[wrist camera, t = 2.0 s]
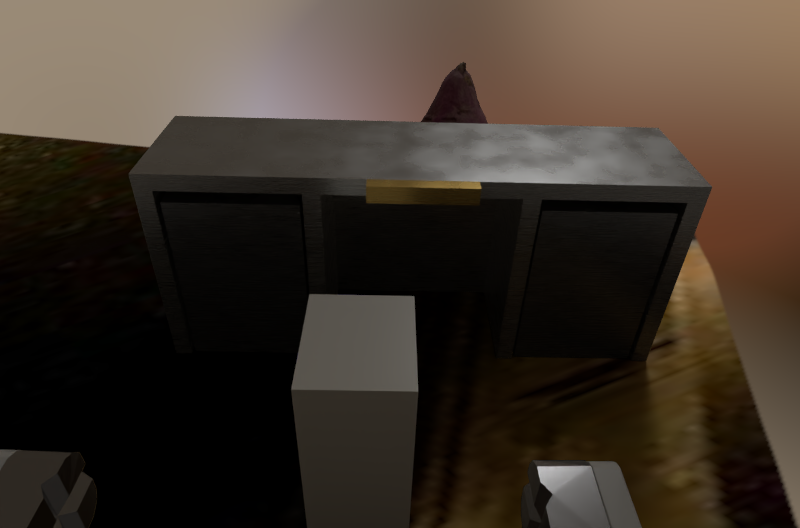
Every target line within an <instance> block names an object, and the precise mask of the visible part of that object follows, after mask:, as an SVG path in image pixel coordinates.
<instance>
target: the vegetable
mask: <svg viewBox="0 0 800 528" xmlns="http://www.w3.org/2000/svg"><path fill="white" fill-rule="evenodd" d="M421 122H436V123H476V124H488V123H487V120H486V117H485V115H484V113H483V111H482V109H481V107H480V105H479V102H478V100H477V96H476V91H475V87H474V84H473V81H472V78H471V76H470V74H469V73H468V72H467V71H466V63H464V62H463V63H461V64H460V65H458V66H457V67H456V69H454V70H452V71H451V72H450V73H449V74H448V75H447V77H446V78H445V79H444V81H443V83H442V85H441V87H440V89H439V91H438V93H437V95H436V97H435V99H434V101H433V103H432V104H431V106H430V108H429V110H428V112H427V114H426V115H425V116H424V118H423V120H422V121H421Z"/></svg>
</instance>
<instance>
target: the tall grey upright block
mask: <svg viewBox="0 0 800 528" xmlns="http://www.w3.org/2000/svg"><path fill="white" fill-rule="evenodd" d="M291 392H292V401H293V409H294V418H295V427H296V435H297V444H298V453H299V461H300V470H301V479H302V487H303V496H304V505H305V513H306V522H307V528H409V521H410V506H411V491H412V477H413V462H414V447H415V432H416V418H417V403H418V372H417V348H416V323H415V298H414V296H381V295H327V294H309V299H308V304H307V310H306V315H305V320H304V325H303V331H302V336H301V341H300V346H299V351H298V357H297V362H296V367H295V372H294V378H293V383H292V388H291Z"/></svg>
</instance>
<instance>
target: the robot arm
mask: <svg viewBox="0 0 800 528" xmlns="http://www.w3.org/2000/svg"><path fill="white" fill-rule="evenodd" d="M84 466H85V462H84V460H83V458H82V456H81V454H80V453H79V452H52V451H22V450H0V528H89V526H90V523H91V521H92V519H93V516H94V512H95V507H96V502H97V493H96V486H95V484H94V481H93V479H92V478H90V477H89V476H87V475H86V474H84V473H83V472H82V470H83V468H84ZM528 477H529V482H530V483H528V484H527V485H526V486H524V488H523V493H522V498H521V518H522V527H523V528H642V527H641V524H640V521H639V519H638V516H637V513H636V510H635V507H634V505H633V502H632V499H631V496H630V494H629V491H628V488H627V485H626V482H625V480H624V477H623V474H622V471H621V469H620V467H619V466H618V464H617V463H616V462H613V461H585V460H533V461H532V462H531V463H530V465H529V468H528Z"/></svg>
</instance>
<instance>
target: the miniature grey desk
mask: <svg viewBox="0 0 800 528" xmlns="http://www.w3.org/2000/svg"><path fill="white" fill-rule="evenodd" d="M129 178H130V181H131V185H132V189H133V192H134V196H135V200H136V204H137V207H138V211H139V215H140V219H141V222H142V226H143V230H144V234H145V237H146V241H147V245H148V249H149V252H150V256H151V260H152V264H153V267H154V271H155V275H156V279H157V282H158V286H159V290H160V293H161V297H162V301H163V305H164V308H165V312H166V316H167V320H168V323H169V327H170V331H171V335H172V338H173V342H174V346H175V350H176V353H192V352H193V349H194V346H195V350H196V351H217V352H278V353H298V351H299V346H300V341H301V336H302V331H303V325H304V320H305V315H306V310H307V304H308V299H309V294H327V295H338V290H384V291H437V292H484V297H485V302H486V308H487V313H488V318H489V323H490V328H491V333H492V339H493V344H494V349H495V354H496V358H512V353H513V355H514V356H521V357H581V358H628V355H629V357H630V359H631V360H634V361H646V360H647V357H648V355H649V352H650V349H651V347H652V344H653V341H654V339H655V336H656V333H657V331H658V328H659V326H660V323H661V320H662V318H663V315H664V312H665V310H666V307H667V305H668V302H669V299H670V297H671V294H672V291H673V289H674V286H675V283H676V281H677V278H678V276H679V273H680V270H681V268H682V265H683V262H684V260H685V257H686V255H687V252H688V249H689V247H690V244H691V241H692V239H693V236H694V233H695V231H696V228H697V225H698V223H699V220H700V218H701V215H702V212H703V210H704V207H705V205H706V202H707V199H708V197H709V194H710V191H711V189H712V186H711V185H710V184H709V183H708V182H707V181H706V180H705V179H704V178H703V176H701V174H700V173H699V172H698V171H697V170H696V169H695V168H694V167H693V166H692V165H691V163H690V162H689V161H688V160H687V159H686V158H685V157H684V156H683V155H682V154H681V152H680V151H679V150H678V149H677V148H676V147H675V146H674V145H673V144H672V143H671V142H670V140H669V139H668V138H667V137H666V136H665V135H664V134H663V133H662V132H661V131H660V130H659V128H637V127H597V126H556V125H517V124H515V125H513V124H476V123H436V122H395V121H355V120H351V121H350V120H315V119H275V118H273V119H272V118H234V117H233V118H232V117H193V116H192V117H191V116H190V117H189V116H175V117H174V118H173V119H172V120H171V122H170V123H169V124H168V125H167V127H166V128H165V129H164V130H163V132H162V133H161V134H160V135H159V137H158V138H157V139H156V140H155V141H154V143H153V144H152V145H151V146H150V148H149V149H148V150H147V151H146V153H145V154H144V155H143V156H142V158H141V159H140V160H139V161H138V163H137V164H136V165H135V166H134V168H133V169H132V170H131V171H130V173H129Z"/></svg>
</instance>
